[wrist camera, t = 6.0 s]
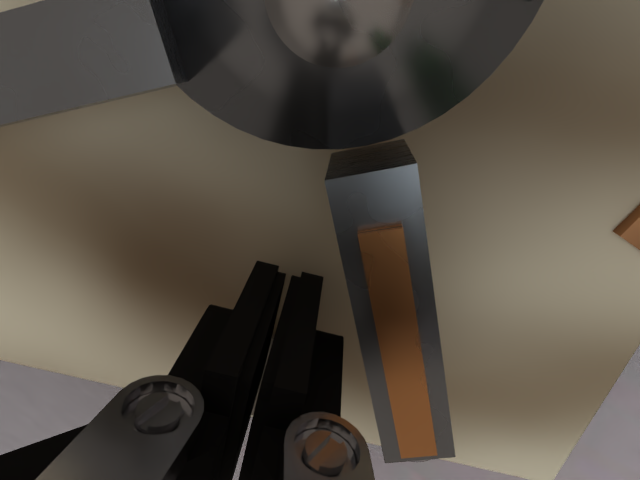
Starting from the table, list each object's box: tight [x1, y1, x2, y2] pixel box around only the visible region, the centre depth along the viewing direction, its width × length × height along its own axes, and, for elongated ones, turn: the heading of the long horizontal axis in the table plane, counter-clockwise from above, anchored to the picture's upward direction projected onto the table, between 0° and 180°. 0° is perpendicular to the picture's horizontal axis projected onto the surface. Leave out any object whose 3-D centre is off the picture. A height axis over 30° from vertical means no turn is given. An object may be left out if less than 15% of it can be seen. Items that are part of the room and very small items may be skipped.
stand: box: [0, 0, 640, 480], centre depth 9 cm, size 22×19×2 cm
